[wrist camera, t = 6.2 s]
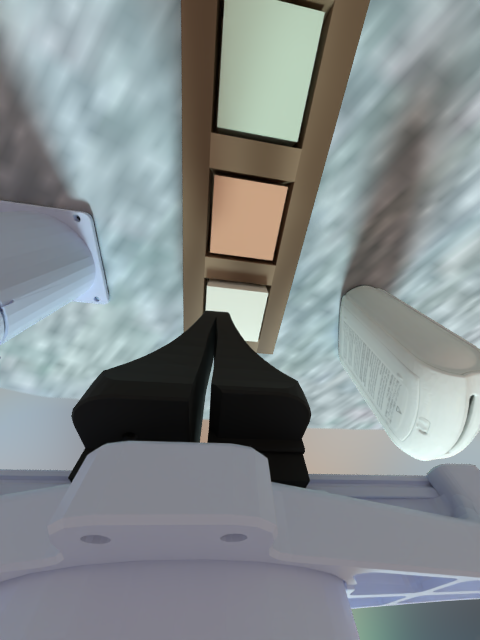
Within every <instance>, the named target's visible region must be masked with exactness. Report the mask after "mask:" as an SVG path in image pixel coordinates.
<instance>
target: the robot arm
mask: <svg viewBox="0 0 480 640" xmlns="http://www.w3.org/2000/svg"><path fill="white" fill-rule="evenodd" d="M77 215H78V216H79V217H80V219H81V221H79V220H78V219H77ZM96 297H98V298H99V300H98V299H97V298H96ZM71 301H76V302H86V303H96V304H107V303H108V302H109V294H108V290H107V285H106V280H105V275H104V270H103V266H102V261H101V256H100V251H99V246H98V241H97V237H96V232H95V227H94V222H93V219H92V217H91V215H90V214H88V213H86V212H82V211H74V210H67V209H60V208H53V207H46V206H39V205H32V204H25V203H17V202H10V201H3V200H0V345H1V344H3V343H5V342H6V341H8V340H9V339H11V338H13V337H14V336H16V335H17V334H19V333H21V332H22V331H24V330H26V329H27V328H29V327H30V326H32V325H34V324H35V323H37V322H38V321H40V320H42V319H43V318H45V317H47V316H48V315H50V314H51V313H53V312H55V311H56V310H58V309H59V308H61V307H63V306H64V305H66V304H68V303H69V302H71ZM213 358H214V370H213V377H212V383H211V400H210V419H209V433H208V443H200V436H201V427H202V419H203V410H204V402H205V395H206V389H207V385H208V380H209V376H210V372H211V367H212V363H213ZM0 359H1V357H0ZM310 418H311V411H310V407H309V404H308V402H307V399H306V397H305V395H304V392H303V391H302V389H301V387H300V385H299V383H298V381H296V380H295V379H293V378H291V377H289V376H288V375H286V374H284V373H282V372H281V371H279V370H277V369H276V368H275V367H273V366H272V365H270V364H269V363H268V362H266V361H265V360H264V359H263V358H261V357H260V356H259V355H258V354H257V353H256V352H255V351H254V350H253V349H252V348H251V347H250V346H249V345H248V344H247V343H246V341H245V340H244V339H243V337H242V336H241V335H240V333H239V331H238V330H237V328H236V327H235V325H234V323H233V321H232V319H231V316H230V314H229V313H228V312H219V311H205V312H204V313H203V314H202V316H201V317H200V318H199V319H198V320H197V321H196V322H195V323H194V324H193V325H192V326H191V327H190V328H189V329H188V330H186V331H185V332H184V333H183V334H182V335H180V336H179V337H178V338H176V339H175V340H174V341H172V342H171V343H169V344H167V345H165V346H164V347H162V348H160V349H158V350H156V351H154V352H152V353H150V354H148V355H146V356H144V357H141V358H139V359H137V360H134V361H131V362H129V363H126V364H123V365H120V366H117V367H114V368H111V369H108V370H105V371H103V372H102V373H101V374H100V375H99V376H98V377H97V378H96V380H95V381H94V382H93V383H92V385H91V386H90V387H89V389H88V390H87V391H86V393H85V394H84V395H83V396H82V398H81V399H80V400H79V402H78V403H77V404H76V406H75V407H74V408H73V412H72V420H73V423H74V426H75V428H76V430H77V432H78V434H79V436H80V438H81V440H82V442H83V444H84V446H85V450H84V452H83V453H82V455H81V457H80V458H79V460H78V462H77V463H76V465H75V467H74V468H73V470H72V471H70V470H69V471H66V470H2V469H0V640H360V638H359V635H358V631H357V628H356V624H355V621H354V618H353V614H352V611H351V609H355V608H366V607H377V606H389V605H400V604H413V603H424V602H437V601H450V600H467V599H480V470H479V469H478V468H477V467H476V466H475V465H471V464H441V465H438V466H436V467H434V468H432V469H431V470H430V471H429V472H428V473H427V475H426V476H407V475H405V476H403V475H340V474H338V475H337V474H334V475H333V474H308V471H307V468H306V464H305V460H304V457H303V454H304V452H305V448H304V445H303V441H302V437H303V435H304V433H305V430H306V428H307V426H308V424H309V422H310Z"/></svg>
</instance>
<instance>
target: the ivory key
mask: <svg viewBox="0 0 480 640" xmlns="http://www.w3.org/2000/svg"><path fill="white" fill-rule="evenodd" d="M267 297H268V291H267V288H266V285H263V284H254V283H246V282H237V281H229V280H220V279H212V278H209V281H208V284H207V294H206V311H219V312H228V313H229V314H230V316H231V319H232V321H233V323H234V325H235V327H236V328H237V330H238V331H239V333H240V335H241V336H242V337H243V339H244V340H245V341H252V342H258V338H259V333H260V329H261V324H262V320H263V315H264V311H265V306H266V301H267Z"/></svg>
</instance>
